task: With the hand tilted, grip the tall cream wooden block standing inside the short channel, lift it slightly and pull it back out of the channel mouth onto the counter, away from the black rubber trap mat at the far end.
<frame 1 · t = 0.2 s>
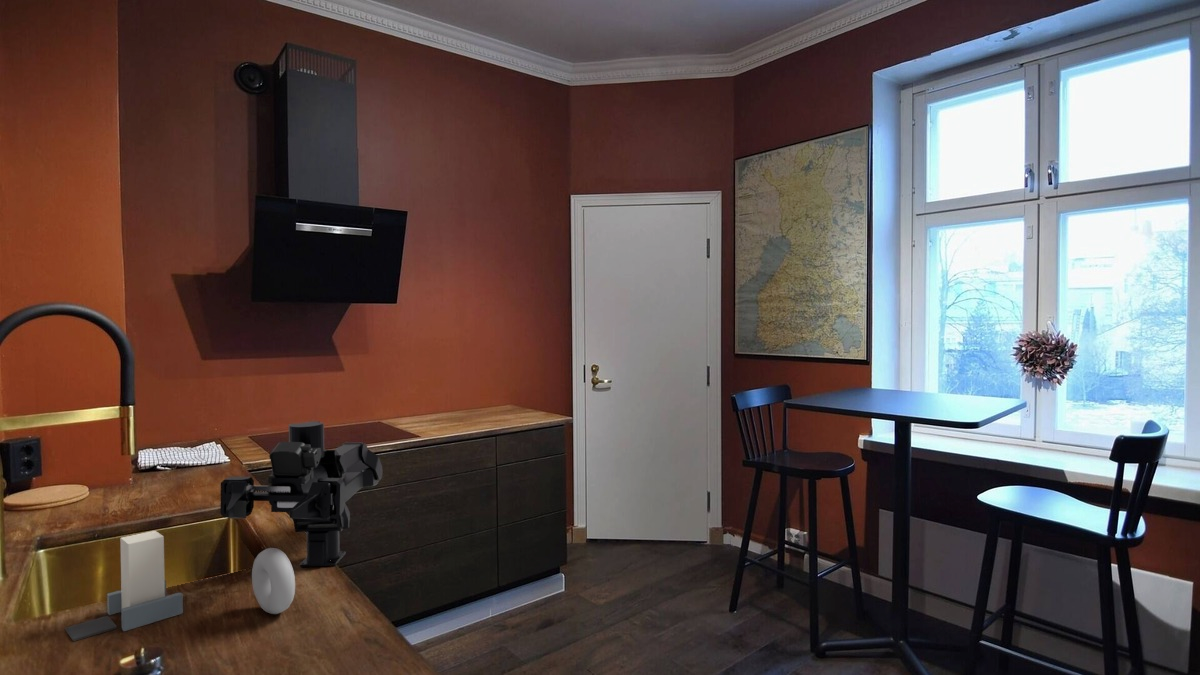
hand: (259, 514, 93), 16 cm above the countertop, tool horizontal, fingers open, 9 cm apart
donut: (273, 613, 97), on the countertop
block: (143, 613, 97), on the countertop
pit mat: (91, 629, 92), on the countertop
channel: (145, 613, 97), on the countertop
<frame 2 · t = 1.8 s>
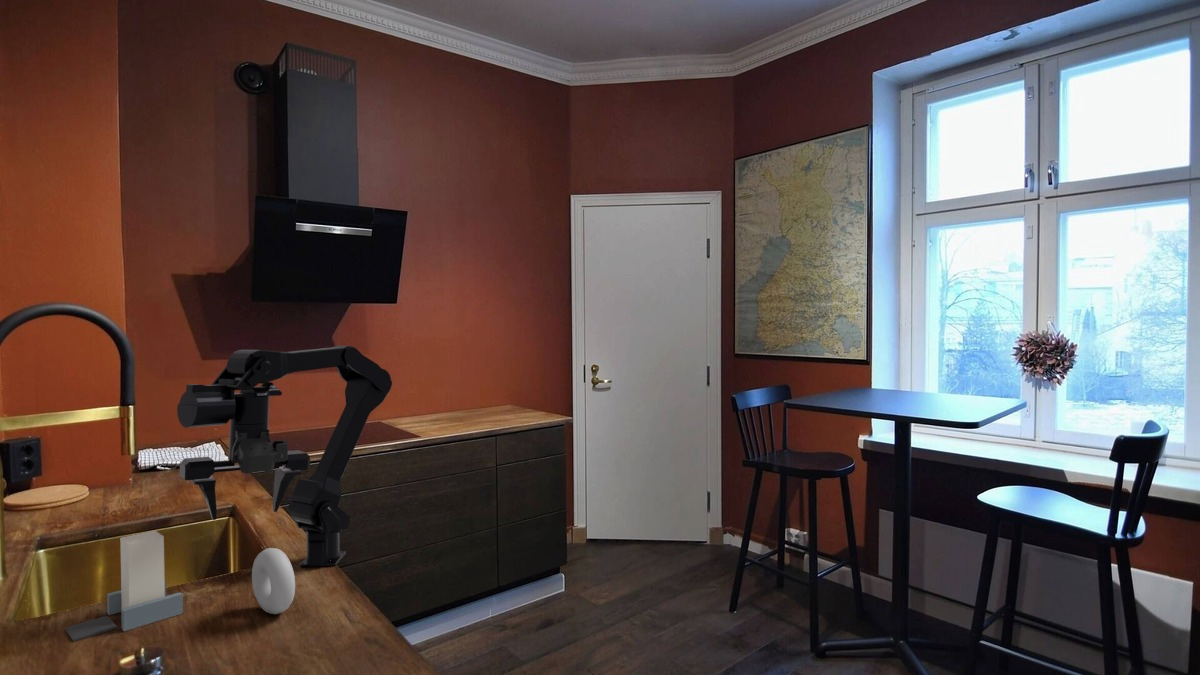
hand: (245, 515, 106), 13 cm above the countertop, tool pointing down, fingers open, 9 cm apart
nothing on the countertop moved.
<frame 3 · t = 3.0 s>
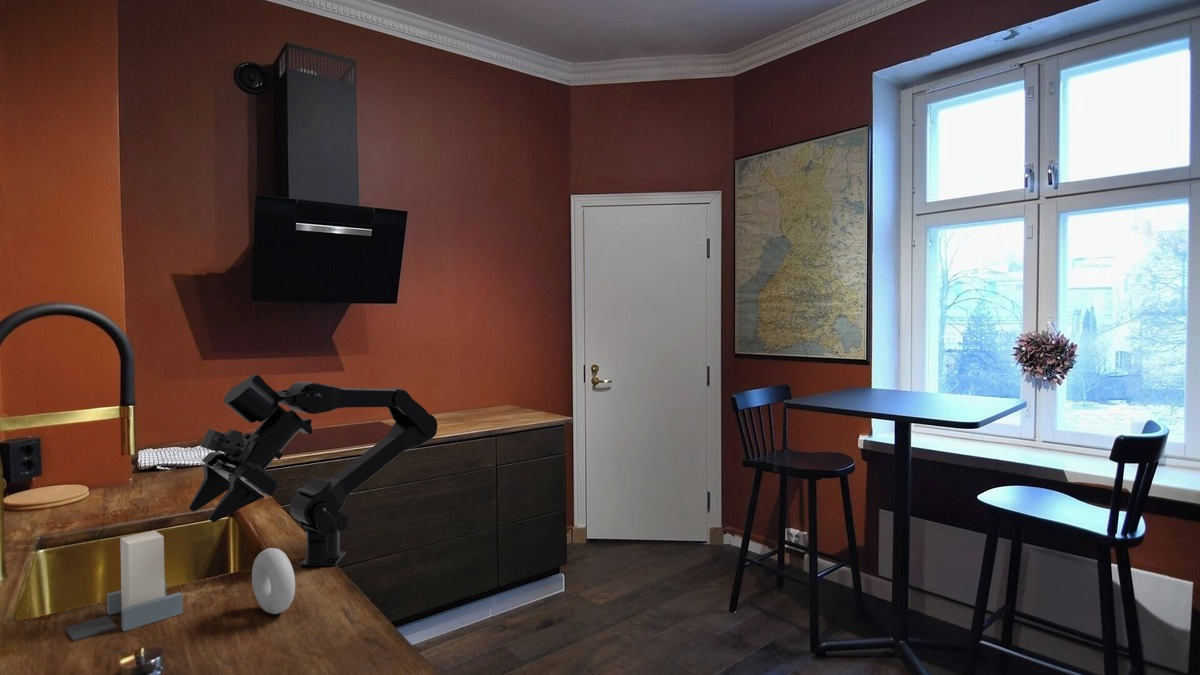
hand: (200, 515, 103), 13 cm above the countertop, tool tilted 45°, fingers open, 9 cm apart
nothing on the countertop moved.
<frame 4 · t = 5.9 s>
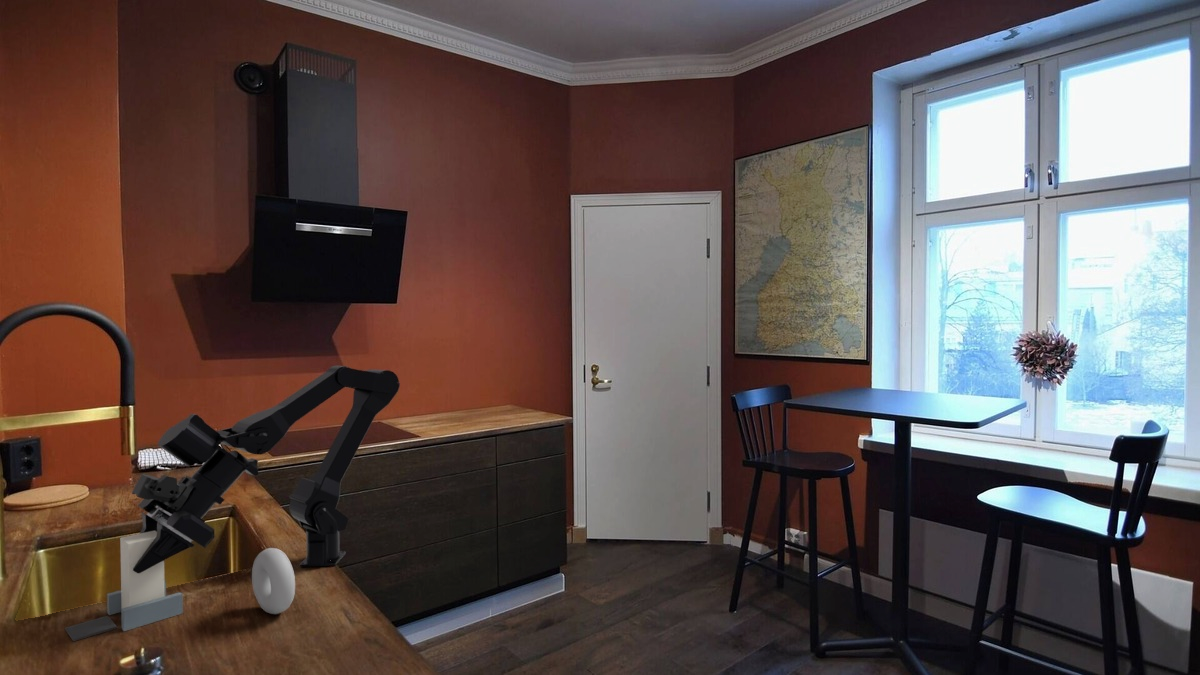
hand: (131, 567, 96), 8 cm above the countertop, tool tilted 45°, fingers closed on block, 4 cm apart
block: (143, 613, 97), on the countertop, touching gripper
everything else where it was.
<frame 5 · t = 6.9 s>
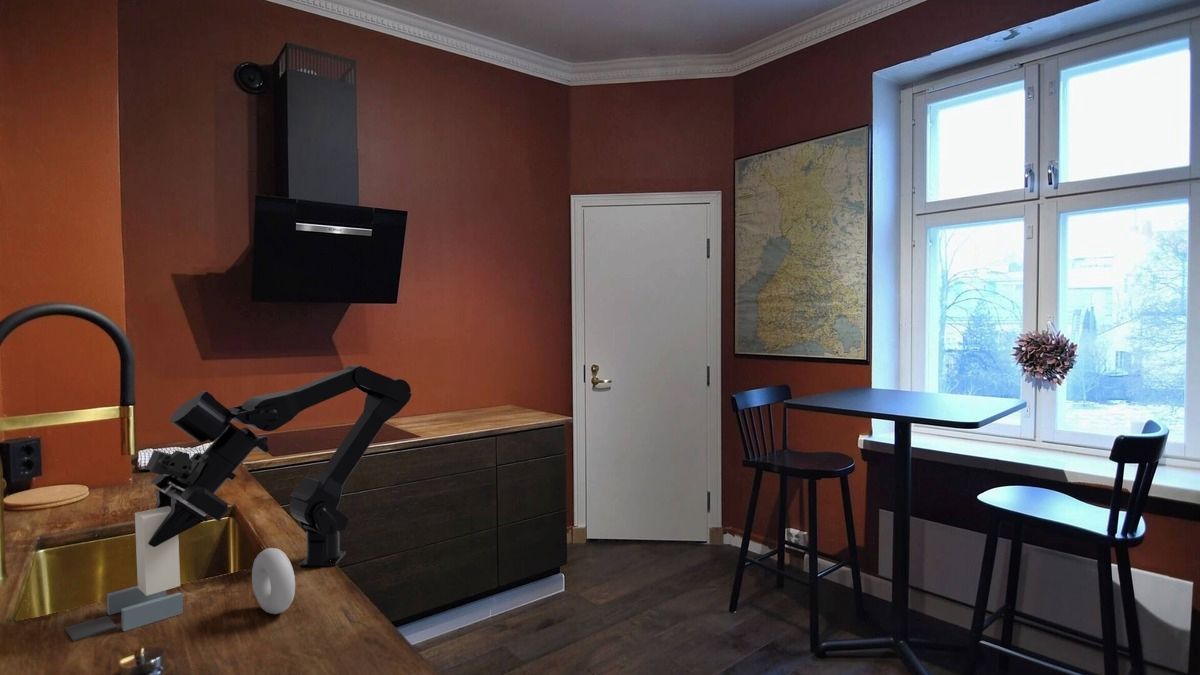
hand: (146, 542, 97), 11 cm above the countertop, tool tilted 45°, fingers closed on block, 4 cm apart
block: (159, 587, 99), point 3 cm above the countertop, touching gripper
everything else where it was.
when the fingers open (9 cm above the countertop, at t = 8.2 s): block drops 1 cm, on the countertop.
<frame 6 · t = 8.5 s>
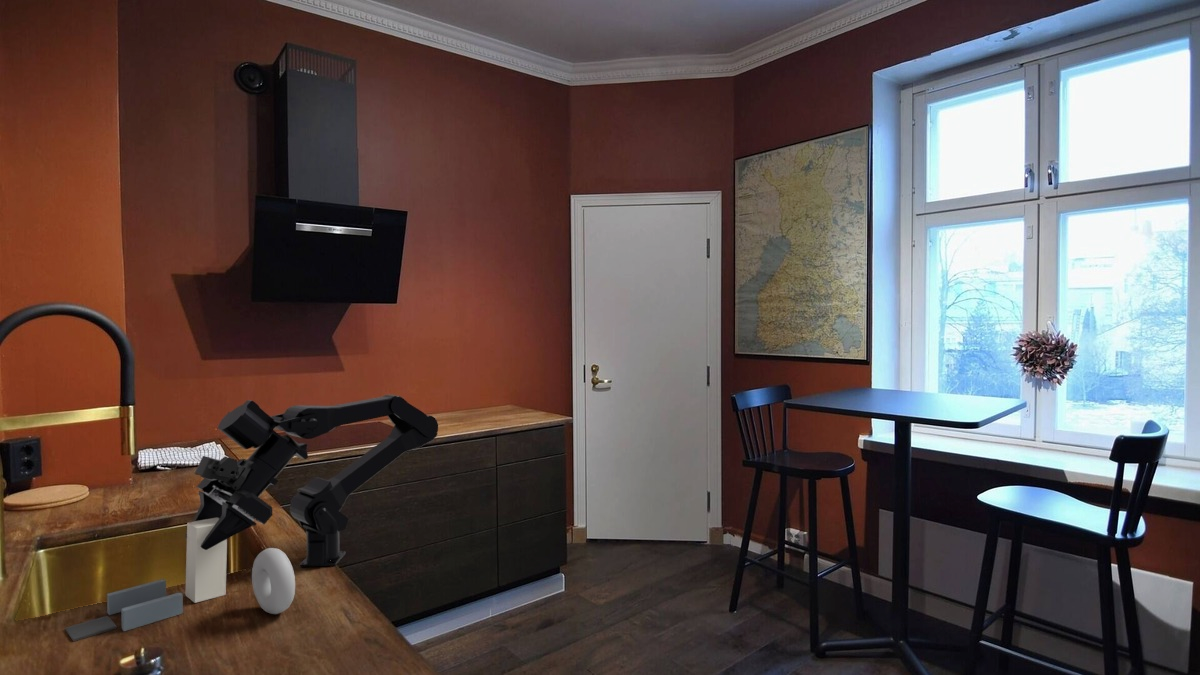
hand: (194, 543, 103), 9 cm above the countertop, tool tilted 45°, fingers open, 7 cm apart
block: (205, 595, 104), on the countertop
everything else where it was.
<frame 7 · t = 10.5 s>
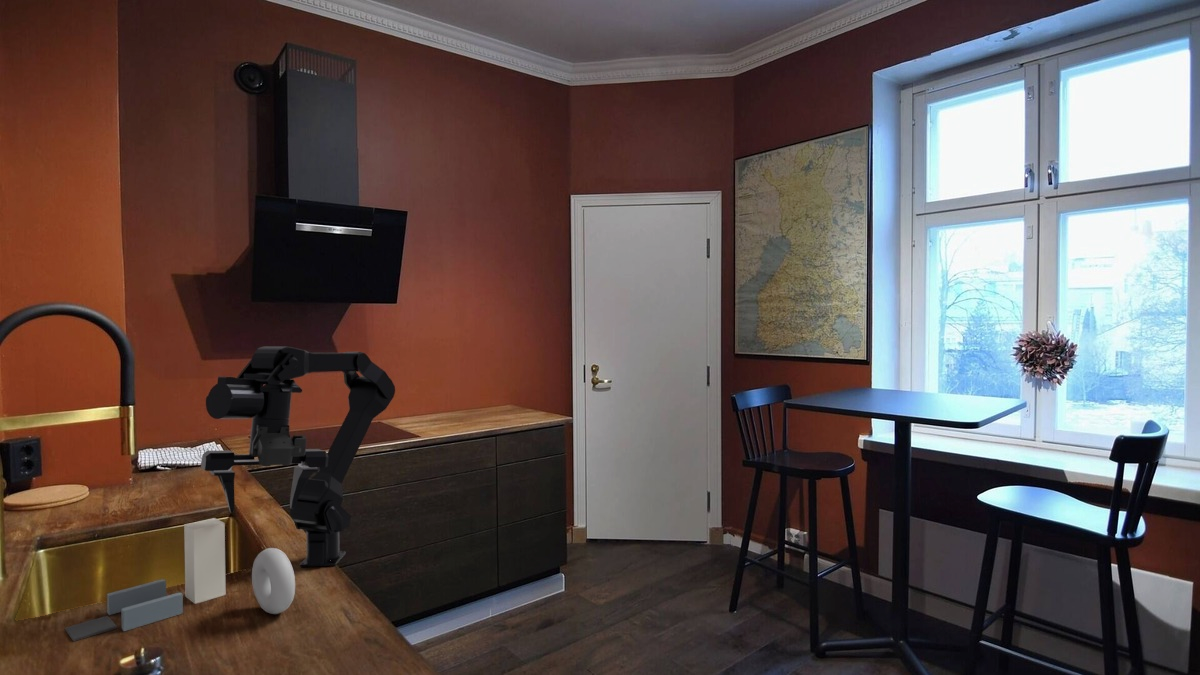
hand: (262, 510, 107), 13 cm above the countertop, tool pointing down, fingers open, 9 cm apart
nothing on the countertop moved.
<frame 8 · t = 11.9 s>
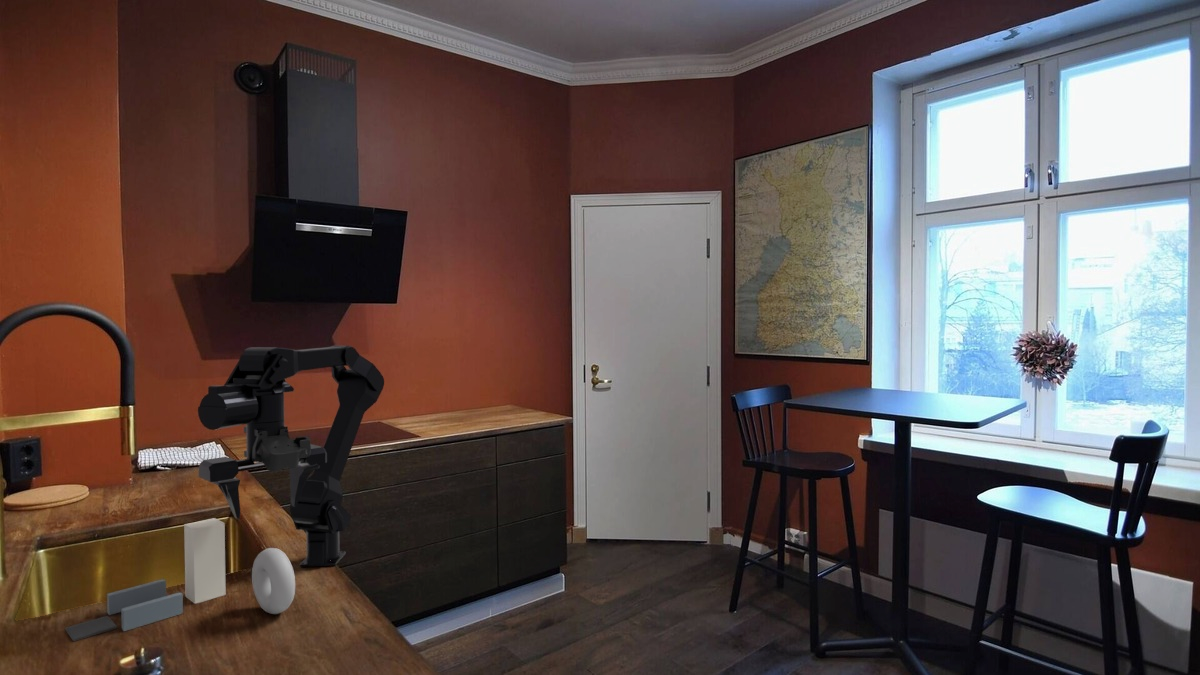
hand: (266, 512, 106), 13 cm above the countertop, tool pointing down, fingers open, 9 cm apart
nothing on the countertop moved.
at the end: block inside the target area (0.2 cm from its centre), on the countertop; block tilted 0°; the gripper is holding nothing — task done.
